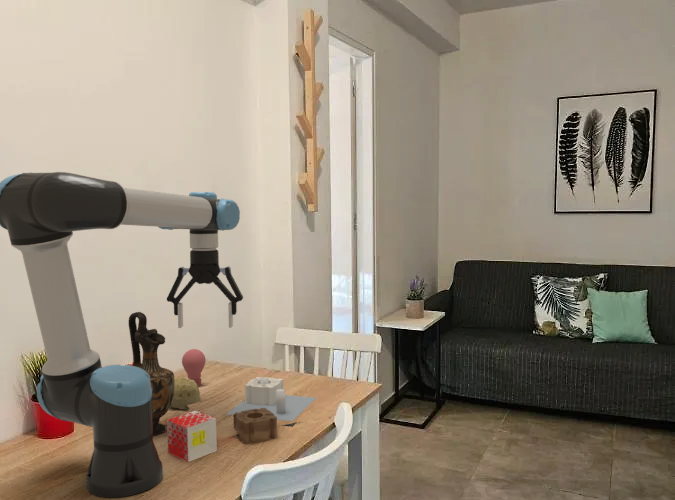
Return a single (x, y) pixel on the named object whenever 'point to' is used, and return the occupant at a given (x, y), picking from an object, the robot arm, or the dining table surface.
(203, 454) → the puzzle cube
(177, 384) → the decorative item
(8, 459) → the dining table surface
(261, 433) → the walnut gear
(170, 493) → the dining table surface
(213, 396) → the dining table surface
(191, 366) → the light bulb
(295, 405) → the gear board
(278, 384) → the gear
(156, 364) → the vase
